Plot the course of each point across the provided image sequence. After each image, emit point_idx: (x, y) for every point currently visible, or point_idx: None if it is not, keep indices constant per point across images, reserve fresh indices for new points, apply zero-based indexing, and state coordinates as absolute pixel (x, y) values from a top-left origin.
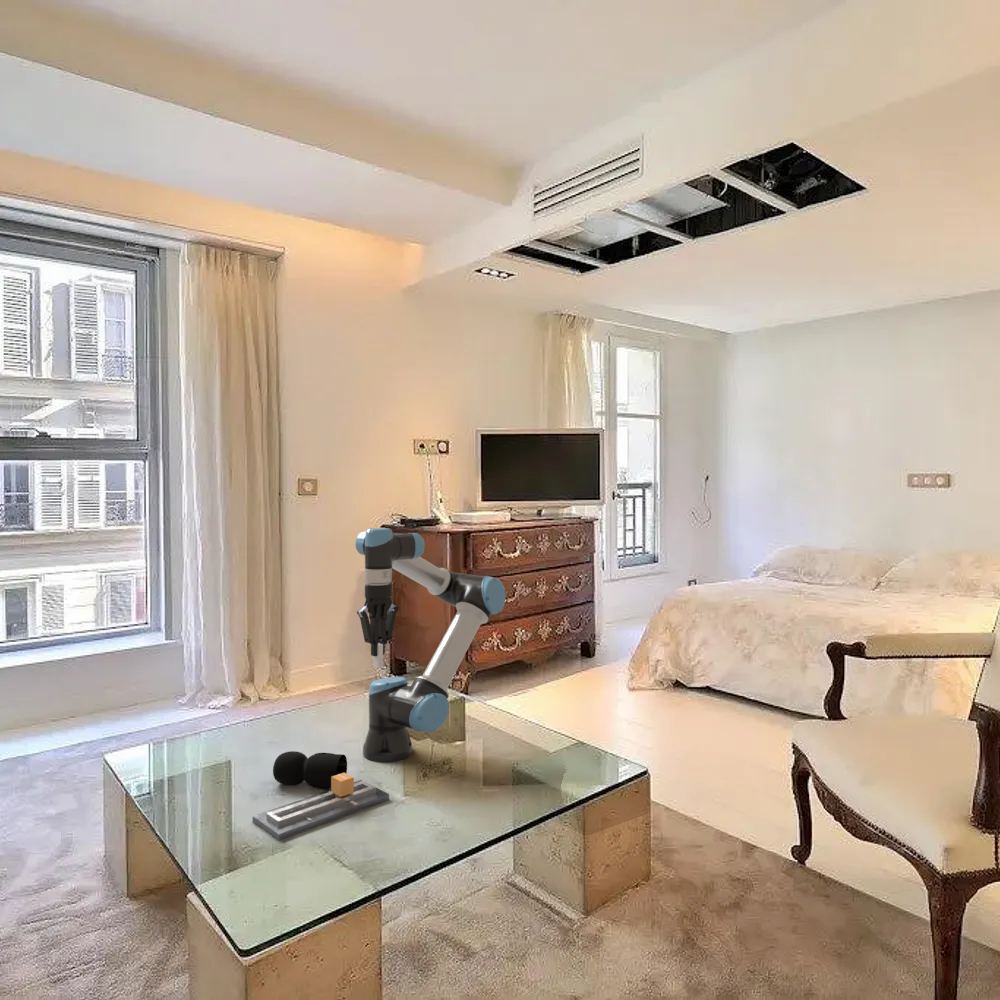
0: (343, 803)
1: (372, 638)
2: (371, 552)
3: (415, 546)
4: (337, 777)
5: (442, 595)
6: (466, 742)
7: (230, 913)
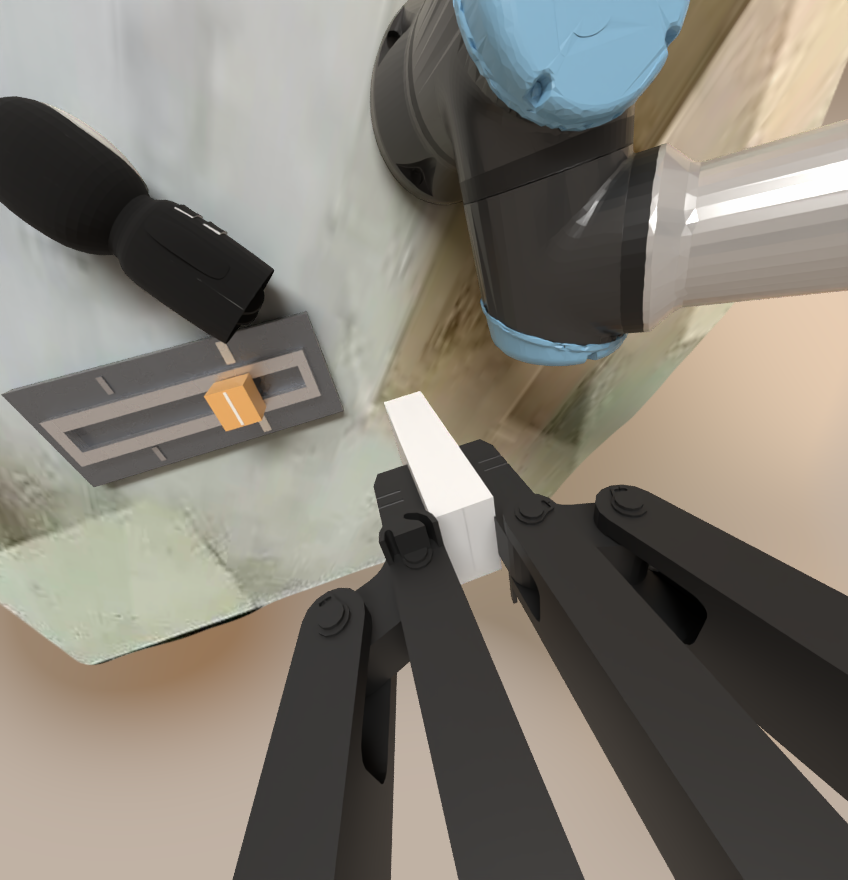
0: None
1: (391, 711)
2: None
3: None
4: (220, 407)
5: None
6: None
7: (48, 621)
